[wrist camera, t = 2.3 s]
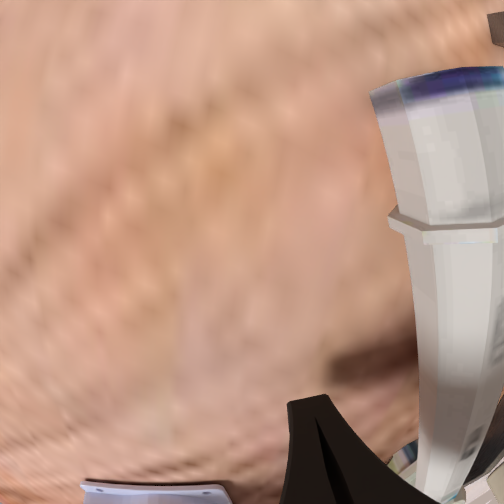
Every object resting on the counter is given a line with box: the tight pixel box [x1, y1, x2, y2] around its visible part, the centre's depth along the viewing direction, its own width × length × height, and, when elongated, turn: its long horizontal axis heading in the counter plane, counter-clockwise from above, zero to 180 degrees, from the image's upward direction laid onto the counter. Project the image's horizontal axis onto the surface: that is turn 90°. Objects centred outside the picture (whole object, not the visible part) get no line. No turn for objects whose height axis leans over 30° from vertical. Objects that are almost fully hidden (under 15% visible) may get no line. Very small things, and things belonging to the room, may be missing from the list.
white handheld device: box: [369, 66, 504, 504], centre depth 11 cm, size 5×7×25 cm
